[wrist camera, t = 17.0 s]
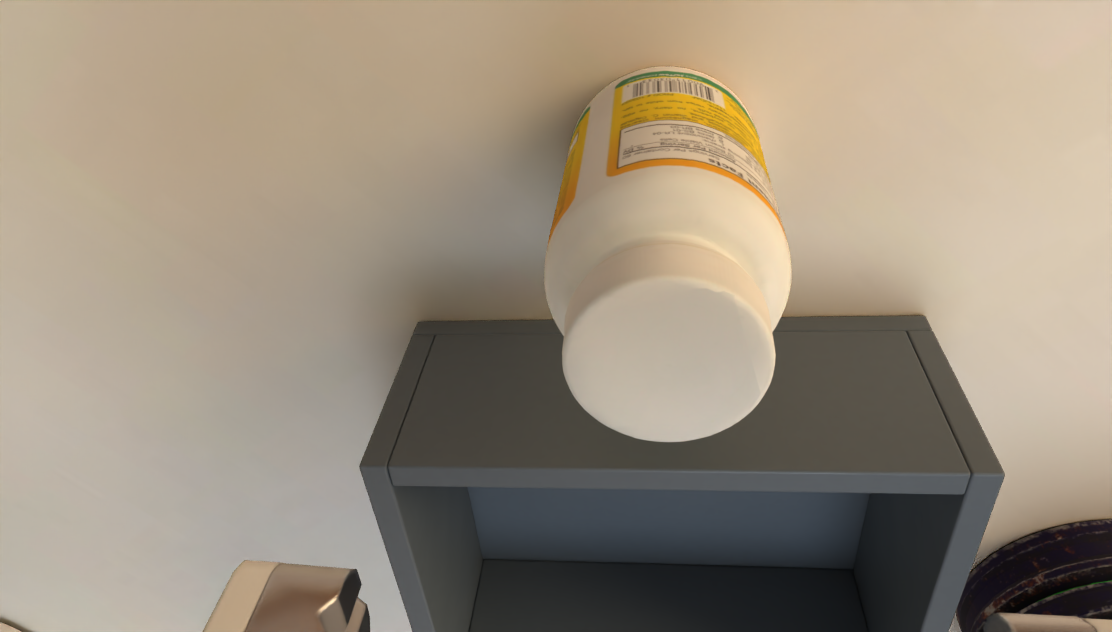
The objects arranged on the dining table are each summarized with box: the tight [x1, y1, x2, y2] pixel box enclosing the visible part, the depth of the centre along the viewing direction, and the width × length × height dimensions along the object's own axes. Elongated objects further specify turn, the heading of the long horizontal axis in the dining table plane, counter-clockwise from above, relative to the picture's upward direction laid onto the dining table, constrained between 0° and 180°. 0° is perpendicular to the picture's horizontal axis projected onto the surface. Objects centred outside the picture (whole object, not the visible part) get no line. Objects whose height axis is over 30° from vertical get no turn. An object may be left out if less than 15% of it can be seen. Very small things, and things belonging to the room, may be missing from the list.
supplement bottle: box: [544, 66, 791, 442], centre depth 18 cm, size 5×5×10 cm
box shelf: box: [359, 316, 1005, 632], centre depth 26 cm, size 17×13×7 cm
